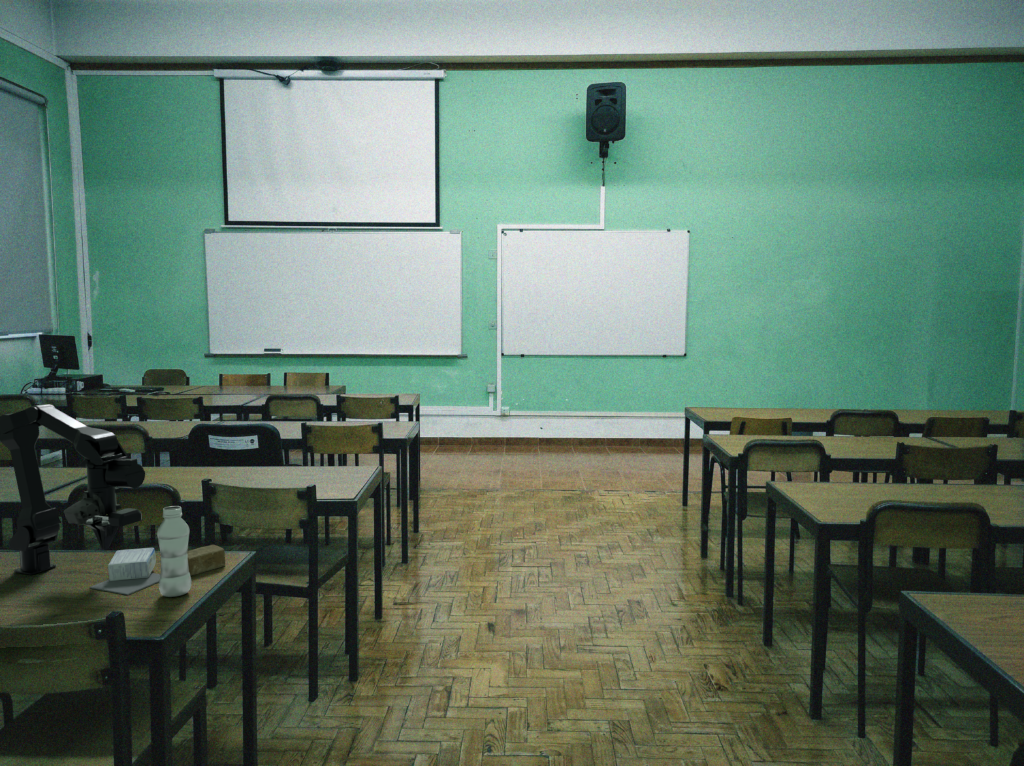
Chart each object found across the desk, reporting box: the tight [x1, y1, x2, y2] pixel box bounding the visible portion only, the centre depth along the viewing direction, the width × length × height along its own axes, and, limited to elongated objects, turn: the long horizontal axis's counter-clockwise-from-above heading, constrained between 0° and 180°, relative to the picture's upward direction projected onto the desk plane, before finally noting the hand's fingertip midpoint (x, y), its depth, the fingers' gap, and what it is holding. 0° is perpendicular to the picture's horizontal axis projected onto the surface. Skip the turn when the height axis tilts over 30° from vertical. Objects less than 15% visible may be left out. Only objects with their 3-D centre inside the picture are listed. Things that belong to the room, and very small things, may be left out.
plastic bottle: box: [156, 505, 192, 598], centre depth 157 cm, size 6×7×20 cm
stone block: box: [187, 544, 226, 576], centre depth 174 cm, size 6×12×5 cm, turn 143°
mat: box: [89, 572, 161, 596], centre depth 166 cm, size 12×12×1 cm
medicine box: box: [107, 547, 157, 581], centre depth 170 cm, size 8×4×9 cm
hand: (105, 549), depth 168 cm, fingers closed
